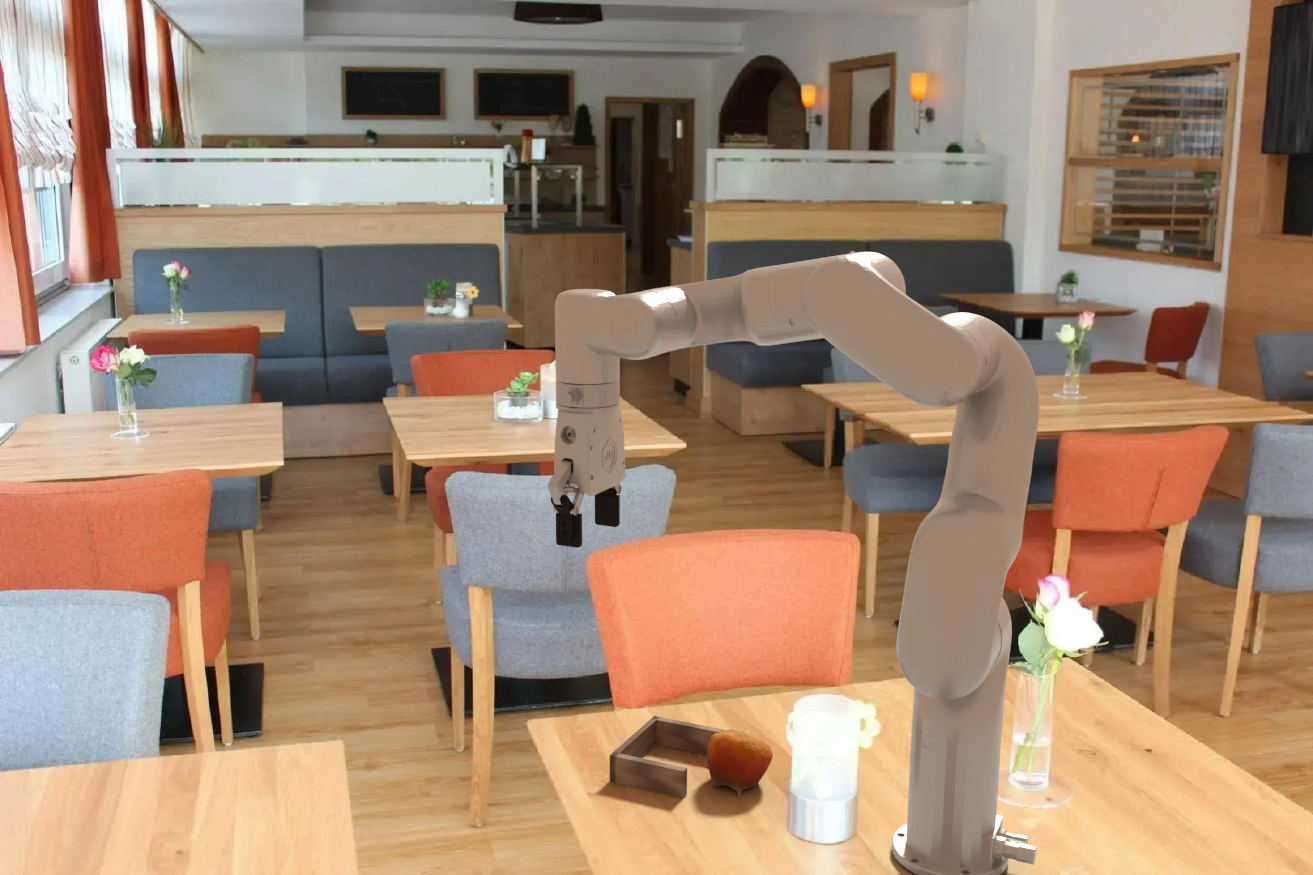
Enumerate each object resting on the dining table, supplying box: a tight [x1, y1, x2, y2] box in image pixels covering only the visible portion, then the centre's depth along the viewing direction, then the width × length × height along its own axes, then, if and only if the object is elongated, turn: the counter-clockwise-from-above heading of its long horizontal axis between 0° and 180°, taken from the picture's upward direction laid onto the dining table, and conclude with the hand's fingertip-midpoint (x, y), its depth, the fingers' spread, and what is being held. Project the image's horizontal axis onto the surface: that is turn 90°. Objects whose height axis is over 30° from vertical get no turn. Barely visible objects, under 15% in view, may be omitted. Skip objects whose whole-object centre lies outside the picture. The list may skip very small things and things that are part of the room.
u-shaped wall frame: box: [609, 715, 725, 799], centre depth 163 cm, size 10×13×4 cm
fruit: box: [706, 729, 774, 799], centre depth 158 cm, size 8×8×8 cm
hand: (588, 535), depth 155 cm, fingers open, 9 cm apart
